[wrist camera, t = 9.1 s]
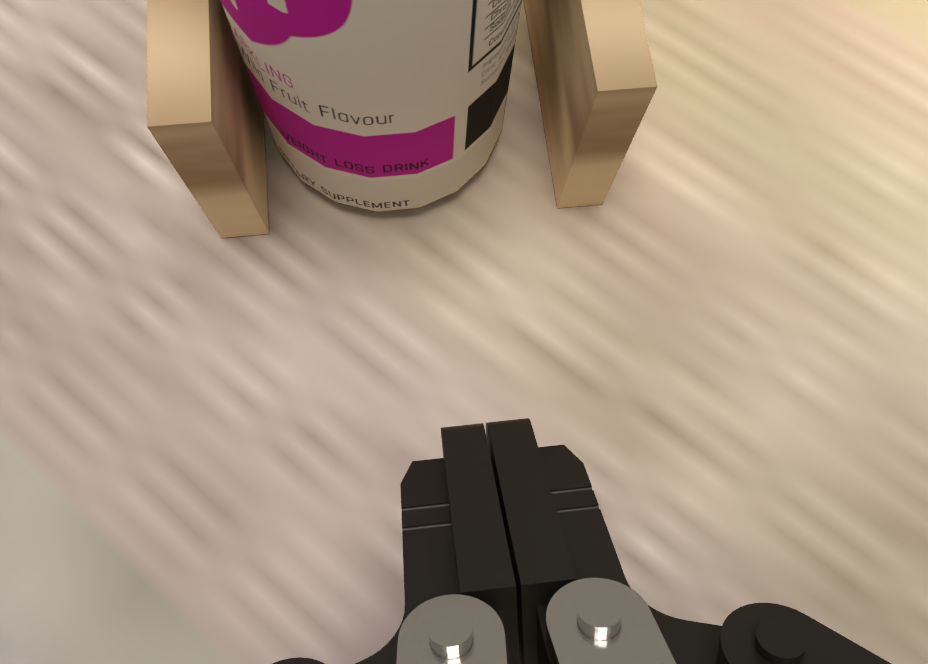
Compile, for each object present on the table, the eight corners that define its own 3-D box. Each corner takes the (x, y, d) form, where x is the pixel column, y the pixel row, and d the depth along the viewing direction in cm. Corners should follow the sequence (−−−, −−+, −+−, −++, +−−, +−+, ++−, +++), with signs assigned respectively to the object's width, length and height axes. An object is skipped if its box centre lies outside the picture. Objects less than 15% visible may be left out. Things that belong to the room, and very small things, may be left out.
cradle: (601, 204, 27) (657, 86, 20) (221, 237, 26) (146, 126, 19) (554, -63, 30) (587, -242, 23) (214, -41, 29) (148, -220, 23)
